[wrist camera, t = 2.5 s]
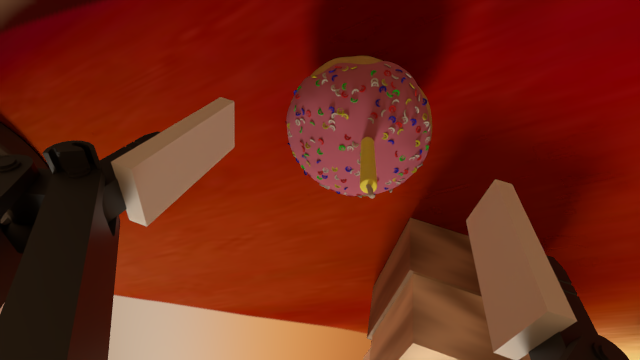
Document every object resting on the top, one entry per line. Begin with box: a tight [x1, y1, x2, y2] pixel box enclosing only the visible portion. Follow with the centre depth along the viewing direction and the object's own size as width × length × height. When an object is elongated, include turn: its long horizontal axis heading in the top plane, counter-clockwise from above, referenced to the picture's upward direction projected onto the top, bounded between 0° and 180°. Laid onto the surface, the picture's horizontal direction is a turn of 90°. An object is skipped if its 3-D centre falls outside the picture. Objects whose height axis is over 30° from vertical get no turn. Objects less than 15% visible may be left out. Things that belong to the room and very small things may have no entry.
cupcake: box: [285, 56, 432, 198], centre depth 16 cm, size 9×8×12 cm
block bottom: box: [367, 218, 482, 340], centre depth 26 cm, size 11×11×6 cm
